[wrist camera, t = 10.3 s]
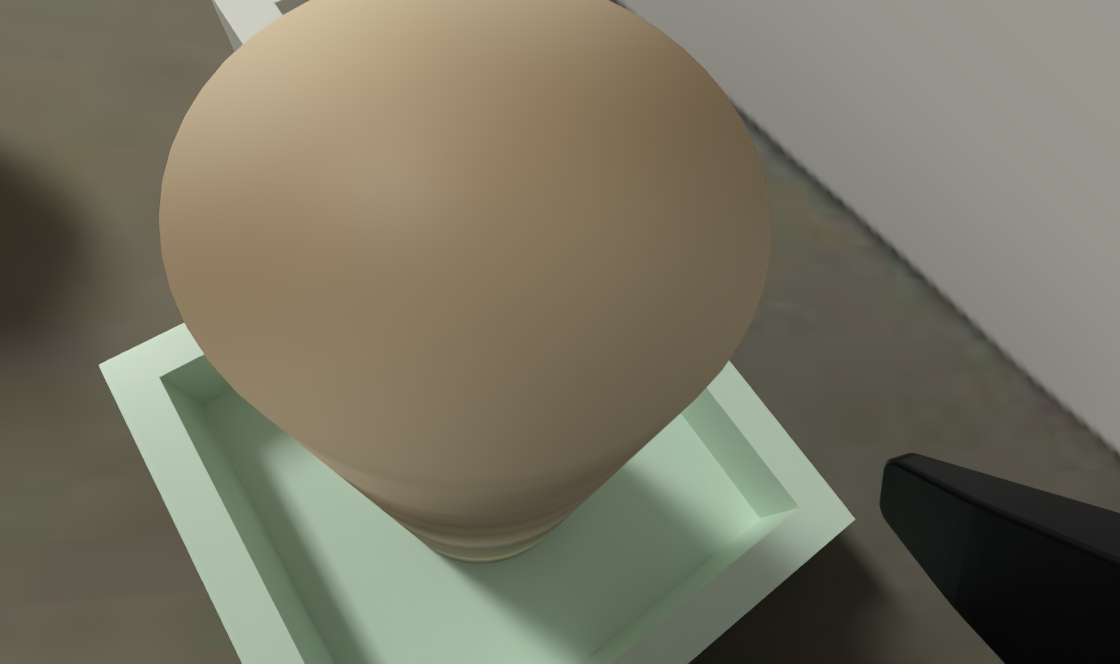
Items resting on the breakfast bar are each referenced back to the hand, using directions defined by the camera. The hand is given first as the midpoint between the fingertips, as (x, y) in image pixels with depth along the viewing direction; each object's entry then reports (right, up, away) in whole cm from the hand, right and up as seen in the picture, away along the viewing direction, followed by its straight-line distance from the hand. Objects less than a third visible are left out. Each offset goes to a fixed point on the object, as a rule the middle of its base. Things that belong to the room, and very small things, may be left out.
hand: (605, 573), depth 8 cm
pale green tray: (-3, -1, +9) cm, 10 cm away
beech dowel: (-3, 0, +9) cm, 9 cm away
